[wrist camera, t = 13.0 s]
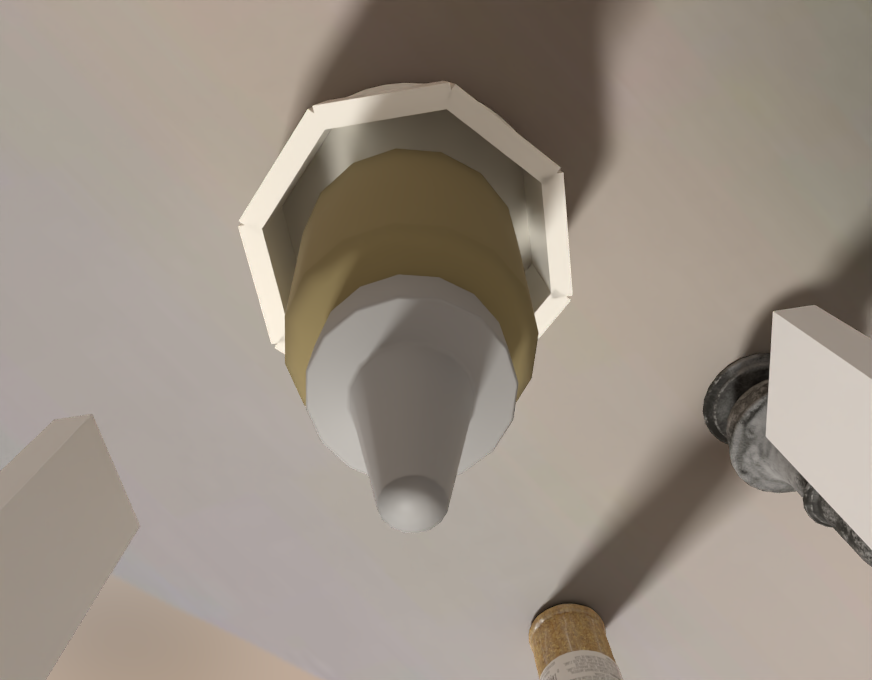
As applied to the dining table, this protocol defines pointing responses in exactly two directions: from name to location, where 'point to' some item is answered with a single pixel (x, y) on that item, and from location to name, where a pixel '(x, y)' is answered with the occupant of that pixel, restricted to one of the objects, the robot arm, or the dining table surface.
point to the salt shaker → (763, 442)
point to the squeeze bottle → (410, 326)
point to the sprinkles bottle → (572, 645)
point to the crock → (416, 130)
